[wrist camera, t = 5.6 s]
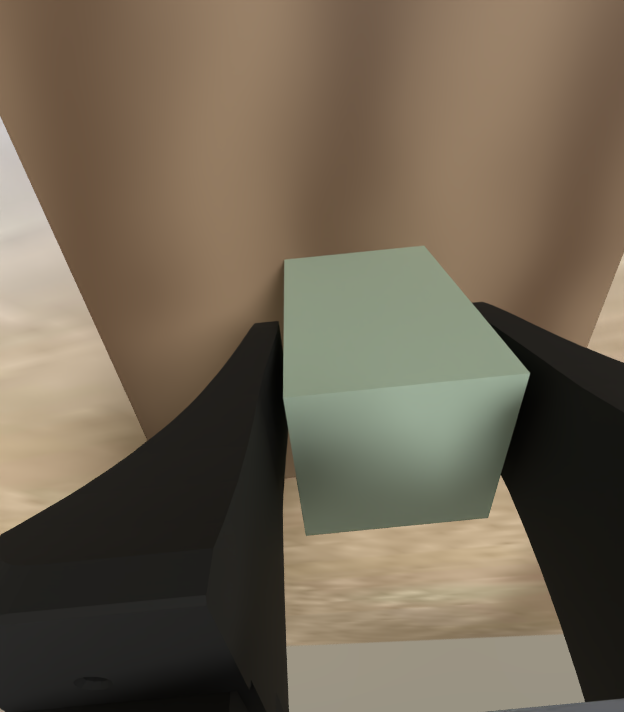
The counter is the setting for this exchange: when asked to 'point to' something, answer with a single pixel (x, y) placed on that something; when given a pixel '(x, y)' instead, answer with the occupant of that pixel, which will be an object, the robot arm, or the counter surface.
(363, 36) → the base board
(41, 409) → the counter surface
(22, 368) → the counter surface
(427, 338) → the block
